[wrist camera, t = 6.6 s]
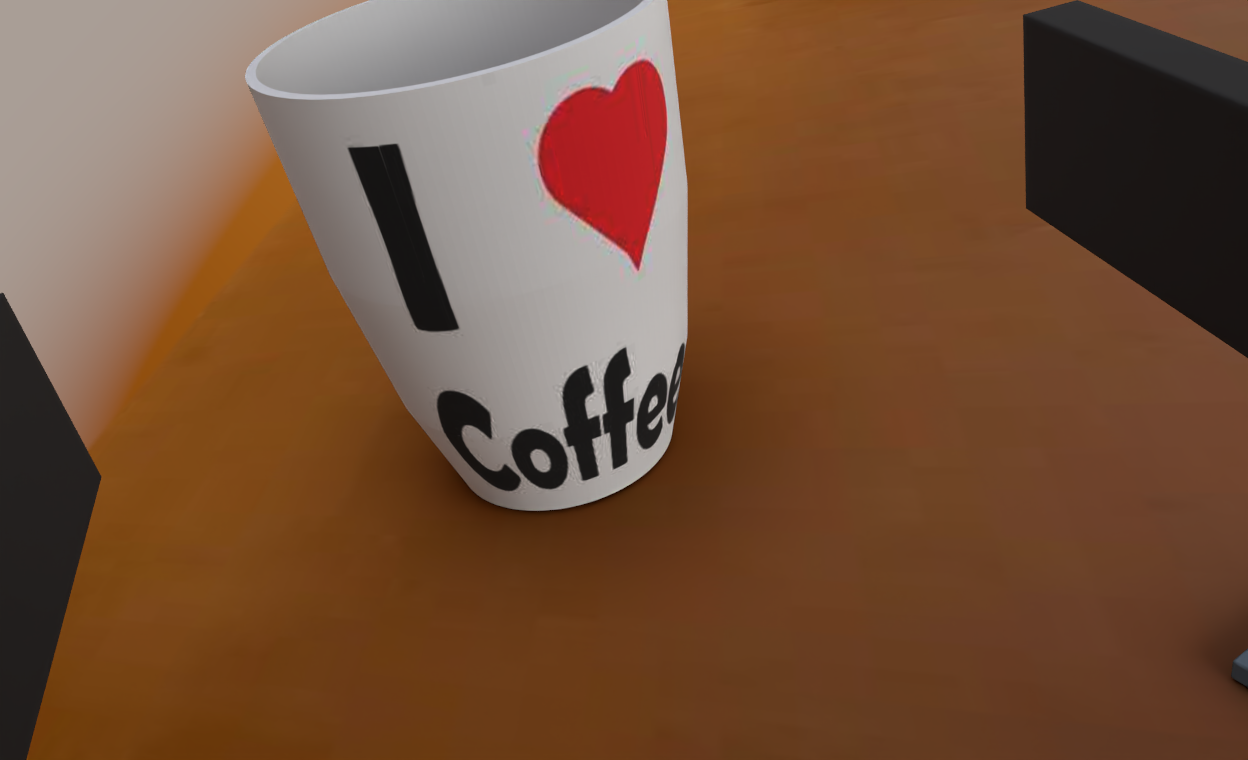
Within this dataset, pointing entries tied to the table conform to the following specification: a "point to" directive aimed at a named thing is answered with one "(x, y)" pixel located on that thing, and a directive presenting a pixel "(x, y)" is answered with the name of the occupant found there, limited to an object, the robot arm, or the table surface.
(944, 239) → the table surface
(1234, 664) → the mat
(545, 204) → the cup
